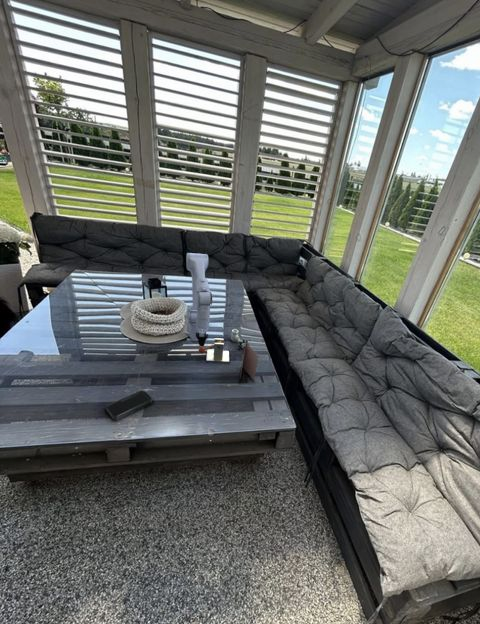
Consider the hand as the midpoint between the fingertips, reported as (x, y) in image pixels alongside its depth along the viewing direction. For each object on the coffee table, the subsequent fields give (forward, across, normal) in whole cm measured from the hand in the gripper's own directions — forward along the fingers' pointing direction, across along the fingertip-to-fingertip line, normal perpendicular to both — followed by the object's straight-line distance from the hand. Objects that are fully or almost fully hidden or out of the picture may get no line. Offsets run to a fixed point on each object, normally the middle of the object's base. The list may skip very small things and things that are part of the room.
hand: (202, 341), depth 138 cm
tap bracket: (+9, 0, -8) cm, 12 cm away
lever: (+4, 0, -5) cm, 6 cm away
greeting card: (+9, -14, -22) cm, 27 cm away
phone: (+9, -35, +24) cm, 44 cm away
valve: (+9, +13, -18) cm, 24 cm away
